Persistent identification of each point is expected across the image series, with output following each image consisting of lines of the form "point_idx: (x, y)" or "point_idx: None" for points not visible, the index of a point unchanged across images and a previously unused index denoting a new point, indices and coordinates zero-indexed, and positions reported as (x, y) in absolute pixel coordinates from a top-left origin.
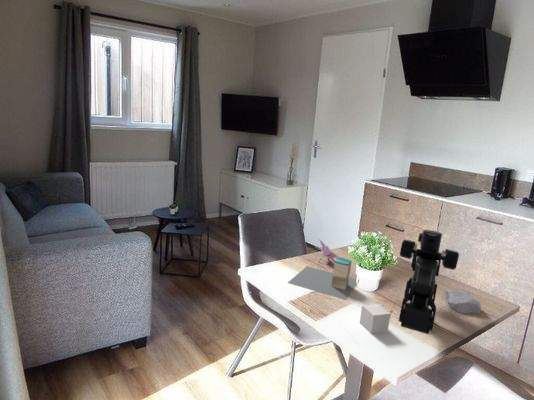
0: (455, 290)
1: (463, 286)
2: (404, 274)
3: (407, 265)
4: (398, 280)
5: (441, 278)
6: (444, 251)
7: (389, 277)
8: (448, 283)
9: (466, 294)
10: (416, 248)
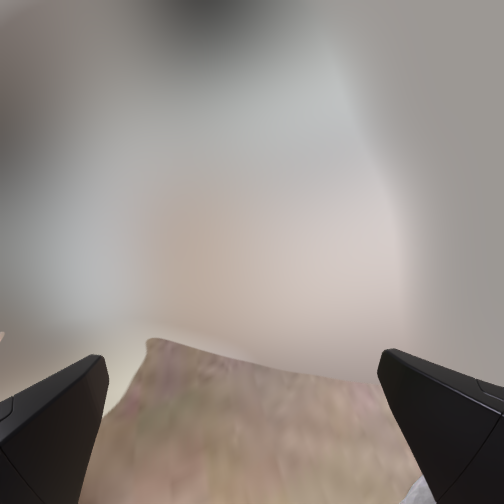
0: (412, 493)
1: (371, 394)
2: (155, 427)
3: (169, 357)
4: (127, 495)
5: (292, 386)
6: (485, 402)
7: (89, 479)
8: (326, 407)
9: None
10: (101, 411)
